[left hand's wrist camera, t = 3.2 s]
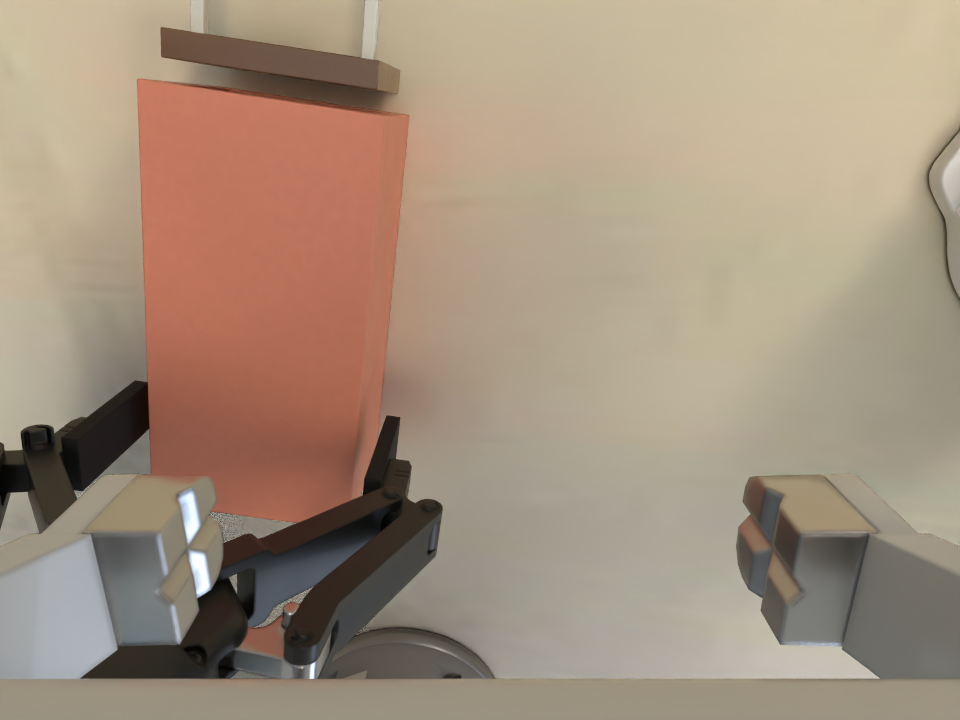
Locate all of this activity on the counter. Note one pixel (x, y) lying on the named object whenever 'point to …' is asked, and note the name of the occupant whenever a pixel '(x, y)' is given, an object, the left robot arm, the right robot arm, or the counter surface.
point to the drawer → (283, 54)
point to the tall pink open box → (267, 290)
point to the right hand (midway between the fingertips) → (268, 420)
